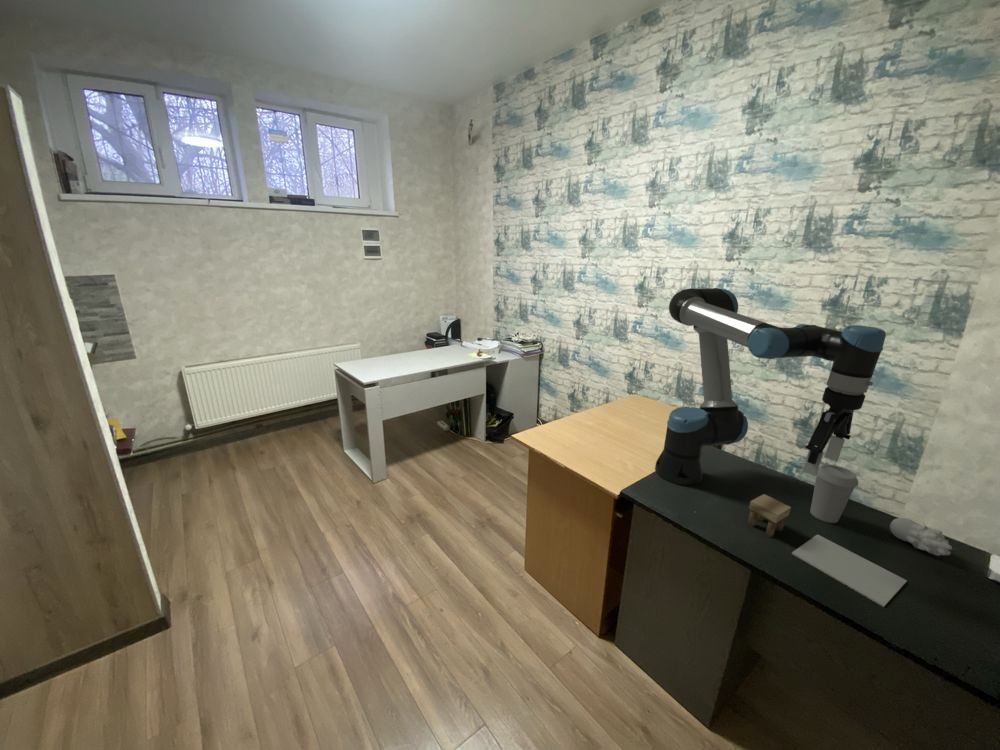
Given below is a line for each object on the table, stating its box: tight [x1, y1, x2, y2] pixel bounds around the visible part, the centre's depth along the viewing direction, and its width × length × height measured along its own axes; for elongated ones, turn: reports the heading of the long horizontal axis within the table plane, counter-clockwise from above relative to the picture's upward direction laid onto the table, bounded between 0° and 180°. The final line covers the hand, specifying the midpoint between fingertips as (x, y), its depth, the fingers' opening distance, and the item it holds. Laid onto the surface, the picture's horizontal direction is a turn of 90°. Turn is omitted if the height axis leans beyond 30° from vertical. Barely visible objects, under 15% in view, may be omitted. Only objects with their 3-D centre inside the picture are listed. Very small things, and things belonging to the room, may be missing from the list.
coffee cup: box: [809, 463, 859, 524], centre depth 112 cm, size 10×10×15 cm
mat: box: [791, 534, 908, 608], centre depth 95 cm, size 18×14×1 cm
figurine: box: [889, 517, 953, 557], centre depth 102 cm, size 7×7×12 cm
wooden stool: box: [747, 493, 792, 538], centre depth 108 cm, size 7×7×8 cm
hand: (820, 466), depth 101 cm, fingers open, 13 cm apart
